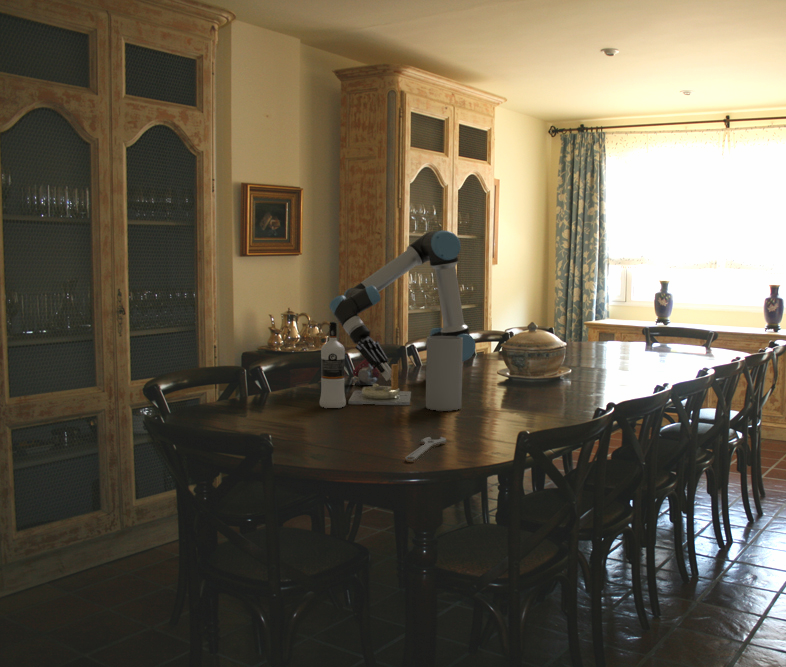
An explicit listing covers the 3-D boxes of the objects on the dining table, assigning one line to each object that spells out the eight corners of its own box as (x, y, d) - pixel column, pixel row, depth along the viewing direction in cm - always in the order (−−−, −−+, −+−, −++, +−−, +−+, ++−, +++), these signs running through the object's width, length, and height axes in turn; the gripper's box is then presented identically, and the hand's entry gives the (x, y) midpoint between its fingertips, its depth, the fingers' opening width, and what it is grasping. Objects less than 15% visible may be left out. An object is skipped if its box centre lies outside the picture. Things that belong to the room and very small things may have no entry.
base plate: (410, 394, 284) (411, 390, 284) (409, 405, 262) (409, 401, 262) (354, 393, 285) (354, 389, 285) (348, 404, 263) (348, 400, 263)
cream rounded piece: (405, 397, 270) (405, 367, 269) (369, 399, 264) (370, 368, 263) (391, 391, 283) (391, 362, 282) (357, 393, 277) (357, 363, 276)
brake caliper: (383, 377, 311) (379, 356, 303) (377, 396, 303) (373, 376, 295) (357, 375, 314) (352, 355, 306) (351, 394, 306) (346, 374, 298)
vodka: (347, 404, 263) (348, 321, 260) (343, 409, 253) (344, 323, 251) (322, 403, 264) (322, 320, 261) (317, 408, 254) (317, 322, 251)
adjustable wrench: (413, 465, 186) (413, 458, 186) (390, 462, 189) (390, 455, 189) (448, 443, 209) (448, 437, 209) (428, 441, 212) (428, 435, 212)
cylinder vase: (418, 407, 258) (419, 337, 256) (443, 403, 266) (445, 335, 264) (442, 413, 249) (444, 340, 247) (468, 409, 257) (470, 338, 255)
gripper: (362, 335, 291) (395, 382, 284) (339, 337, 279) (373, 386, 271) (373, 323, 288) (407, 370, 281) (351, 325, 275) (386, 374, 268)
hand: (391, 378), depth 276 cm, fingers closed on cream rounded piece, 2 cm apart
